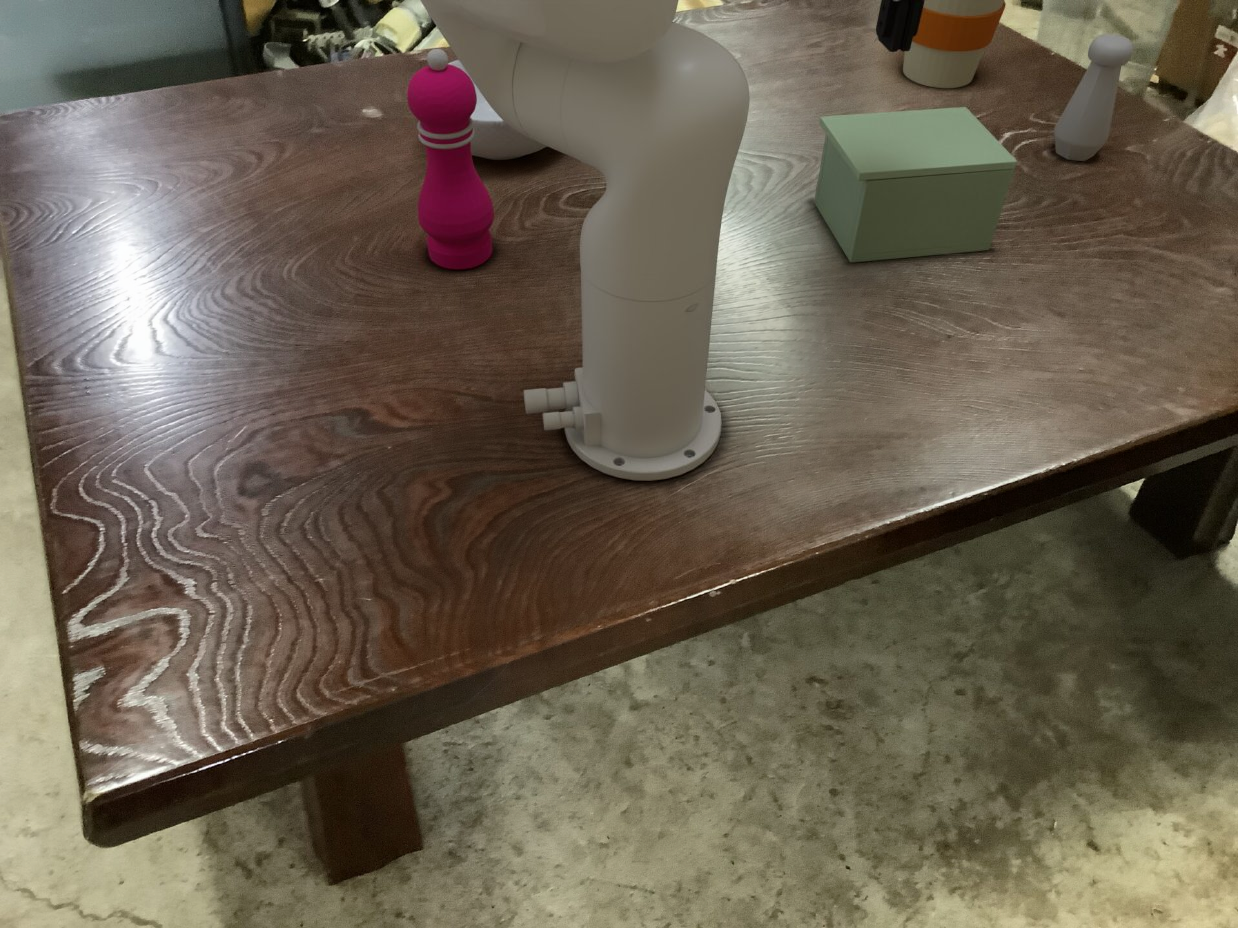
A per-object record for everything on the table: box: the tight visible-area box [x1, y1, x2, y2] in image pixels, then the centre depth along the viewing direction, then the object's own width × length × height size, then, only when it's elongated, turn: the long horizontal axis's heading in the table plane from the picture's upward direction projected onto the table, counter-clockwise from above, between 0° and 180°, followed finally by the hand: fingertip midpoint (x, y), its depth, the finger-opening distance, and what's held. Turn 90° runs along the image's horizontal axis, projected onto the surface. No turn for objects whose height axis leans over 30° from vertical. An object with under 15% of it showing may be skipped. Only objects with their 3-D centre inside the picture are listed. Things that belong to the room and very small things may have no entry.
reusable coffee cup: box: [902, 0, 1007, 89], centre depth 123 cm, size 13×13×15 cm
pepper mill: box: [406, 48, 495, 270], centre depth 90 cm, size 7×7×20 cm
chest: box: [813, 133, 1016, 263], centre depth 98 cm, size 15×12×9 cm
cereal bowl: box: [448, 59, 548, 161], centre depth 111 cm, size 17×17×7 cm
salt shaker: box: [1053, 33, 1134, 162], centre depth 108 cm, size 6×6×13 cm
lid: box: [818, 106, 1018, 181], centre depth 95 cm, size 16×12×1 cm
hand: (893, 45), depth 81 cm, fingers closed
